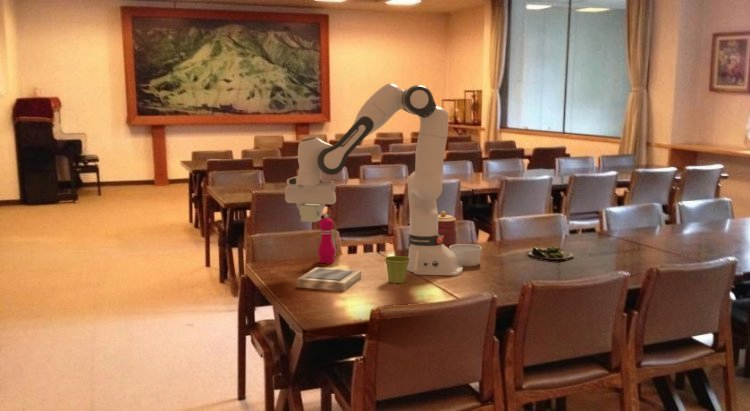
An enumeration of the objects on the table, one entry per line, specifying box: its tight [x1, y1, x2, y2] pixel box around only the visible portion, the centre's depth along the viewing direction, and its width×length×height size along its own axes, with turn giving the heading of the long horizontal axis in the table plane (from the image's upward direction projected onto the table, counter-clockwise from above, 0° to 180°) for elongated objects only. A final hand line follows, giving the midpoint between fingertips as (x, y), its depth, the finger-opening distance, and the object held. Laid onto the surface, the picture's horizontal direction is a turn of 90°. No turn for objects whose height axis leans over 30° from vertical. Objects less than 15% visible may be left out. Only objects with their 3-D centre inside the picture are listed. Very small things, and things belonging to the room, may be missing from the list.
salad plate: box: [524, 246, 574, 262], centre depth 290 cm, size 19×18×5 cm
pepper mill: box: [317, 214, 336, 264], centre depth 278 cm, size 7×7×20 cm
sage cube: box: [300, 203, 322, 223], centre depth 263 cm, size 6×6×6 cm
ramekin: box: [449, 243, 483, 267], centre depth 277 cm, size 13×13×7 cm
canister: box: [438, 210, 459, 249], centre depth 301 cm, size 13×13×18 cm
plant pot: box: [384, 255, 410, 284], centre depth 248 cm, size 9×9×9 cm
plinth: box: [296, 266, 362, 292], centre depth 247 cm, size 18×18×3 cm
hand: (310, 214), depth 263 cm, fingers closed on sage cube, 6 cm apart
